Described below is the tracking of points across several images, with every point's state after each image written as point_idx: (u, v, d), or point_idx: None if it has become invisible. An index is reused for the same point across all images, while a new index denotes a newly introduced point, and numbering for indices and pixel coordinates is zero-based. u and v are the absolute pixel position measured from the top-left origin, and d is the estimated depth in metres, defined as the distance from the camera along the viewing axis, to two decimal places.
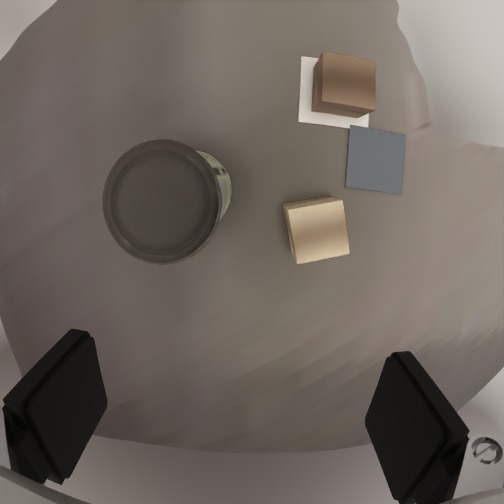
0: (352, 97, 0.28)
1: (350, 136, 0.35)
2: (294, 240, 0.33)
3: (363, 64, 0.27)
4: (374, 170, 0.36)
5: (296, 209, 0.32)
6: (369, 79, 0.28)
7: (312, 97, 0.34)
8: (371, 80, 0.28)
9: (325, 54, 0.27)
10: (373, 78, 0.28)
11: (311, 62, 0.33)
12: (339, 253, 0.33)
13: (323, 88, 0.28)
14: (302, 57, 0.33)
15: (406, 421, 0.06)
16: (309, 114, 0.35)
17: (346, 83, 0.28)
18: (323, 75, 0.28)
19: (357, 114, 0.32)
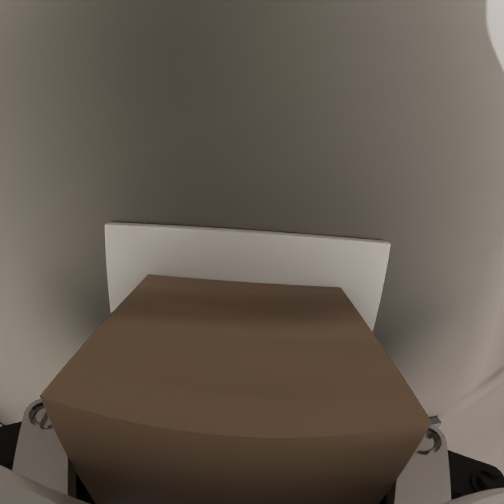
0: None
1: None
2: None
3: (336, 464, 0.04)
4: None
5: None
6: None
7: None
8: None
9: (59, 417, 0.04)
10: (374, 498, 0.04)
11: (141, 250, 0.09)
12: None
13: None
14: (107, 230, 0.09)
15: None
16: None
17: None
18: (93, 493, 0.04)
19: None
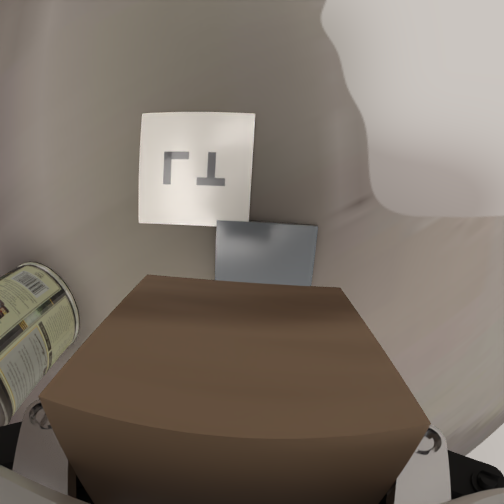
0: None
1: (217, 239, 0.25)
2: None
3: (335, 465, 0.04)
4: None
5: None
6: None
7: None
8: None
9: (57, 417, 0.04)
10: (373, 498, 0.04)
11: (156, 121, 0.22)
12: None
13: None
14: (143, 115, 0.22)
15: None
16: (153, 210, 0.24)
17: None
18: (92, 493, 0.04)
19: None
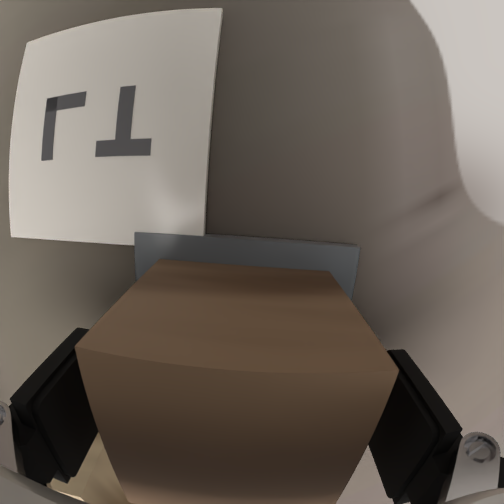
0: None
1: (138, 274, 0.11)
2: None
3: (319, 403, 0.05)
4: None
5: None
6: (333, 455, 0.06)
7: None
8: (343, 456, 0.06)
9: (89, 365, 0.05)
10: (357, 448, 0.05)
11: (43, 49, 0.08)
12: None
13: (122, 481, 0.06)
14: (28, 45, 0.08)
15: (399, 419, 0.07)
16: (28, 212, 0.10)
17: (211, 478, 0.06)
18: (108, 447, 0.06)
19: None
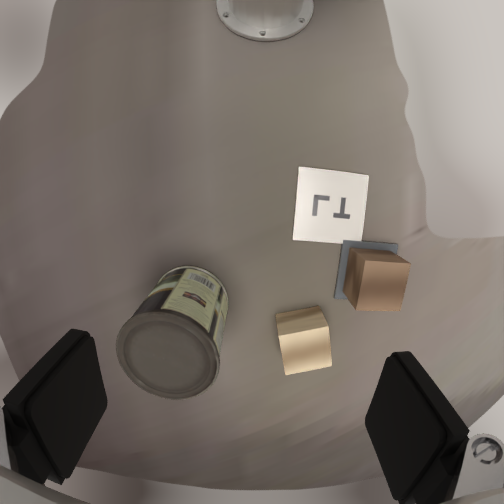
0: (382, 303, 0.34)
1: (342, 251, 0.38)
2: (283, 358, 0.36)
3: (399, 268, 0.33)
4: None
5: (286, 335, 0.35)
6: (401, 283, 0.33)
7: (345, 279, 0.39)
8: (403, 283, 0.33)
9: (366, 263, 0.33)
10: (405, 281, 0.33)
11: (309, 173, 0.36)
12: (322, 366, 0.37)
13: (359, 298, 0.34)
14: (299, 168, 0.36)
15: (406, 421, 0.06)
16: (303, 231, 0.38)
17: (380, 291, 0.33)
18: (361, 285, 0.33)
19: None
